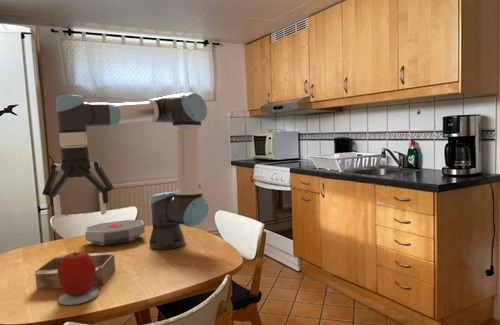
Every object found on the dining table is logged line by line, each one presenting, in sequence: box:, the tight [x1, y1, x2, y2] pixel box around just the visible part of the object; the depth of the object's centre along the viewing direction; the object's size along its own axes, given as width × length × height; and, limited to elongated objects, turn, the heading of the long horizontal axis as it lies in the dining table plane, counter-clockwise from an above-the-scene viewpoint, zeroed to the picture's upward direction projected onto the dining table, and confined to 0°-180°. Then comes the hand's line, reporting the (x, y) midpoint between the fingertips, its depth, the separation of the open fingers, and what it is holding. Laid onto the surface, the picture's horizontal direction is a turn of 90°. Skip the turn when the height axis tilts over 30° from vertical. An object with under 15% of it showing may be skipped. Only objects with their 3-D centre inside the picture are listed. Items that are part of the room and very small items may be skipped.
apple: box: [57, 250, 96, 296], centre depth 109 cm, size 10×10×14 cm
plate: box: [57, 286, 99, 306], centre depth 109 cm, size 11×11×1 cm
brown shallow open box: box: [33, 251, 116, 290], centre depth 124 cm, size 21×18×6 cm
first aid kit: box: [84, 219, 146, 247], centre depth 167 cm, size 18×8×25 cm
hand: (81, 215), depth 112 cm, fingers open, 13 cm apart
